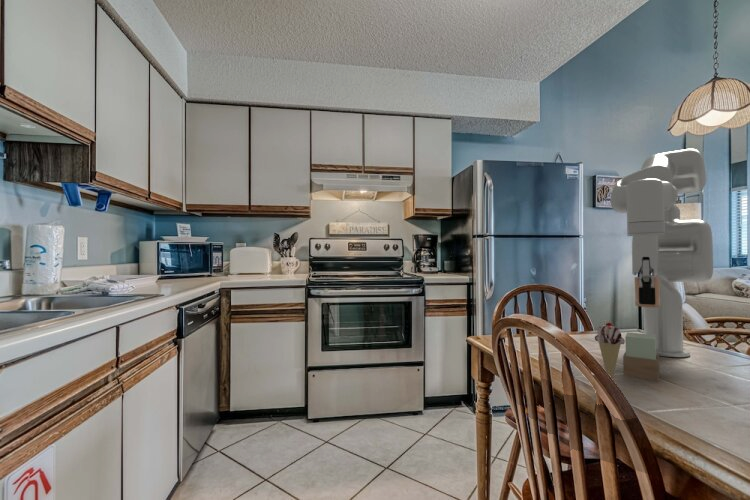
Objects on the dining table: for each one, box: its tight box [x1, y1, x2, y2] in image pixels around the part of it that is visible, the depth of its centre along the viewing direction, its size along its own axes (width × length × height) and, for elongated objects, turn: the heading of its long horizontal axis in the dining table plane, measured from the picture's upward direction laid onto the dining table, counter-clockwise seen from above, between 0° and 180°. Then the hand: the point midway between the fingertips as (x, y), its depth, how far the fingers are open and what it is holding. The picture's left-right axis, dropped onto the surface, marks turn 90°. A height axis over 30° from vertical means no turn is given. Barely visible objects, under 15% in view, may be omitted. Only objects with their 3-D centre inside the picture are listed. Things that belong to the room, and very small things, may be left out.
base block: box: [622, 350, 660, 382], centre depth 93 cm, size 7×7×5 cm
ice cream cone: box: [594, 322, 626, 379], centre depth 84 cm, size 6×6×15 cm
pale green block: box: [624, 332, 656, 360], centre depth 93 cm, size 6×6×5 cm
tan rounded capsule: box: [634, 276, 660, 308], centre depth 91 cm, size 5×5×7 cm
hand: (647, 301), depth 91 cm, fingers closed on tan rounded capsule, 5 cm apart
